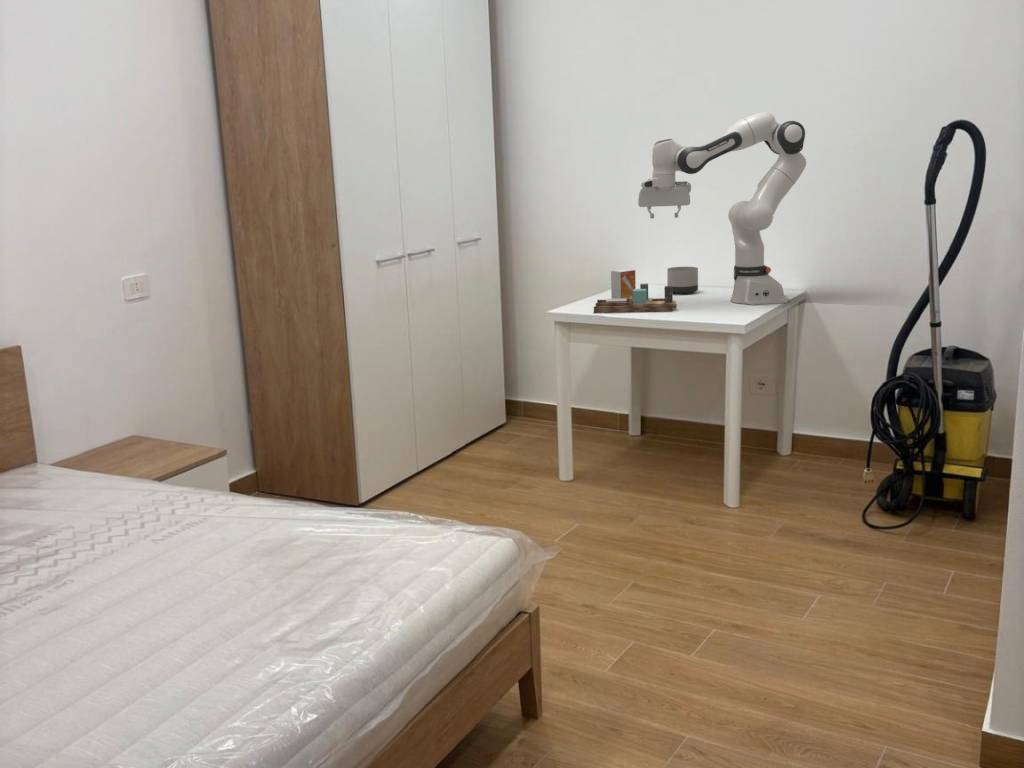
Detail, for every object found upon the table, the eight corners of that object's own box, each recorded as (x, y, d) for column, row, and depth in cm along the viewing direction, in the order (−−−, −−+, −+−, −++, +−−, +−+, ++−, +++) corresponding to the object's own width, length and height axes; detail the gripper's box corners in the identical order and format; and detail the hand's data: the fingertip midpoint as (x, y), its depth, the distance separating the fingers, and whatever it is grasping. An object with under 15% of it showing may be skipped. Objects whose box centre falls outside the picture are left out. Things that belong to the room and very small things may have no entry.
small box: (621, 303, 399) (620, 271, 396) (611, 302, 404) (610, 270, 401) (636, 301, 403) (635, 269, 400) (626, 299, 408) (625, 268, 405)
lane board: (672, 304, 391) (672, 298, 391) (672, 311, 375) (672, 305, 374) (597, 305, 396) (597, 299, 396) (593, 313, 380) (593, 306, 379)
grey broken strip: (652, 302, 391) (652, 282, 389) (651, 305, 385) (651, 285, 383) (607, 303, 394) (606, 283, 392) (606, 306, 388) (605, 286, 386)
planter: (664, 291, 424) (664, 267, 422) (693, 290, 425) (693, 265, 423) (671, 296, 412) (671, 271, 409) (701, 294, 413) (701, 269, 411)
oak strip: (676, 305, 382) (676, 285, 380) (676, 308, 376) (676, 287, 374) (630, 306, 385) (629, 286, 383) (629, 309, 379) (628, 288, 377)
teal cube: (646, 301, 383) (646, 288, 381) (646, 303, 378) (646, 290, 377) (633, 301, 383) (633, 289, 382) (633, 303, 379) (632, 290, 377)
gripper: (690, 180, 384) (691, 216, 387) (638, 182, 387) (638, 218, 391) (691, 181, 378) (691, 217, 381) (637, 183, 381) (638, 219, 385)
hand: (664, 217), depth 386 cm, fingers open, 8 cm apart
